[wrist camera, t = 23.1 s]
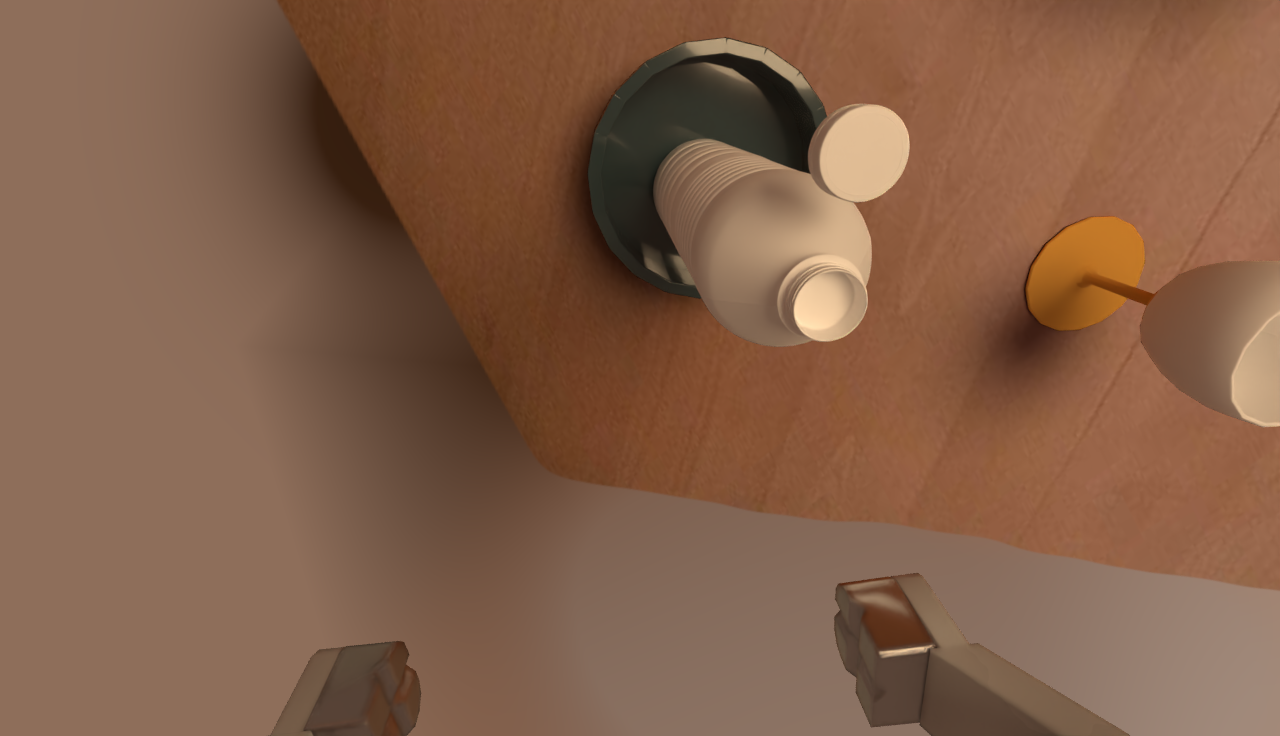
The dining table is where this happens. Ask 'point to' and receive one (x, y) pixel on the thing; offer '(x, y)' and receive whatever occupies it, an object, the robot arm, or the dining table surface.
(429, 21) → the dining table surface
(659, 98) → the holder
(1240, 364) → the cup
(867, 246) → the water bottle
